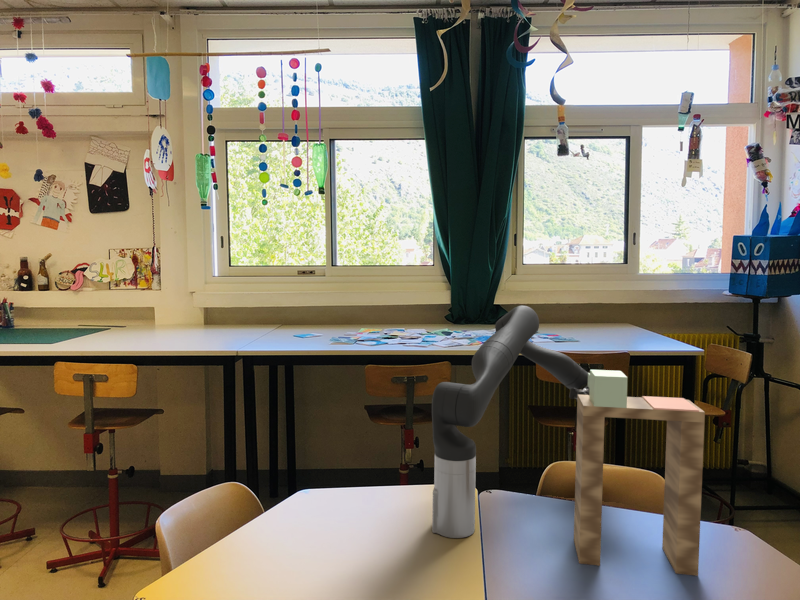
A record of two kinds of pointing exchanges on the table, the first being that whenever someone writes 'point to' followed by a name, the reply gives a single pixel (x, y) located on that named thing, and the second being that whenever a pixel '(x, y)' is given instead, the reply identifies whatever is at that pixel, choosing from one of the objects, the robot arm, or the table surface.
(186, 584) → the table surface
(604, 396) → the pale green bar
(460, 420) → the robot arm
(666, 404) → the card
